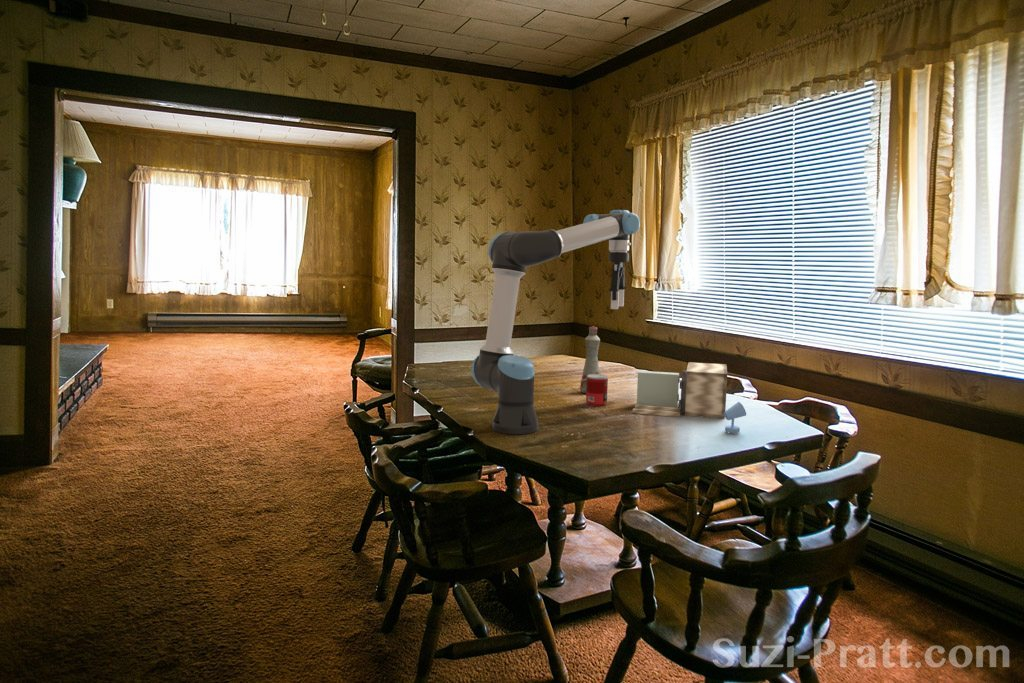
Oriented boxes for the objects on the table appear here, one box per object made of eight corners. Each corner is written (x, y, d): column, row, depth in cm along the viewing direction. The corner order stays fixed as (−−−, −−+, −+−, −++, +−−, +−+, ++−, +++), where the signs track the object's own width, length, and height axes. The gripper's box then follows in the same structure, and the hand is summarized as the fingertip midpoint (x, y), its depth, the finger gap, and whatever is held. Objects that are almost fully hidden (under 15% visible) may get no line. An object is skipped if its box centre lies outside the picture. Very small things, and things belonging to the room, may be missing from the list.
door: (636, 405, 252) (637, 372, 250) (637, 403, 256) (639, 370, 254) (677, 409, 248) (679, 374, 246) (678, 406, 251) (680, 373, 250)
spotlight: (740, 429, 219) (720, 430, 218) (742, 400, 217) (721, 400, 217) (747, 433, 214) (726, 434, 213) (748, 403, 212) (728, 403, 212)
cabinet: (632, 413, 240) (634, 369, 238) (640, 398, 264) (641, 359, 262) (725, 420, 231) (727, 375, 229) (724, 405, 255) (726, 364, 252)
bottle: (591, 395, 268) (593, 327, 265) (575, 392, 275) (576, 325, 271) (605, 393, 274) (607, 326, 270) (589, 389, 281) (591, 324, 277)
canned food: (608, 406, 250) (609, 377, 249) (587, 406, 250) (587, 377, 249) (605, 402, 258) (606, 374, 256) (585, 401, 258) (585, 373, 256)
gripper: (624, 251, 237) (622, 310, 240) (633, 251, 260) (631, 305, 263) (603, 251, 239) (601, 309, 242) (614, 251, 263) (612, 304, 266)
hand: (617, 307), depth 253 cm, fingers open, 13 cm apart
